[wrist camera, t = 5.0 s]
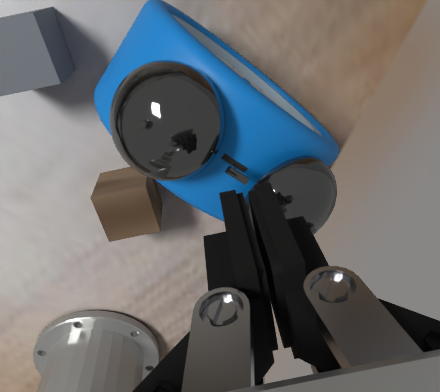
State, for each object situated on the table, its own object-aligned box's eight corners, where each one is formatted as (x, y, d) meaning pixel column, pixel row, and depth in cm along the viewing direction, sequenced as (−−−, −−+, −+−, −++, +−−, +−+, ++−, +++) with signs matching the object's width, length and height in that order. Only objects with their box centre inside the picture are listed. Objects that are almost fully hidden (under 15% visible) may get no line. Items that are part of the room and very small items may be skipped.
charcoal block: (75, 69, 27) (60, 83, 23) (19, 80, 27) (-4, 96, 24) (53, 6, 25) (32, 12, 21) (-8, 19, 25) (-38, 26, 21)
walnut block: (162, 203, 33) (160, 231, 30) (116, 213, 33) (109, 241, 30) (149, 162, 31) (145, 186, 27) (100, 172, 31) (90, 197, 28)
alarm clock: (303, 104, 30) (400, 206, 17) (253, 164, 32) (304, 296, 19) (157, -12, 25) (134, 6, 12) (109, 69, 27) (46, 158, 14)
